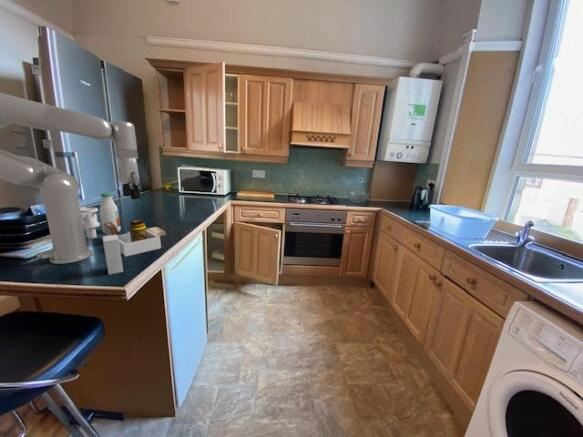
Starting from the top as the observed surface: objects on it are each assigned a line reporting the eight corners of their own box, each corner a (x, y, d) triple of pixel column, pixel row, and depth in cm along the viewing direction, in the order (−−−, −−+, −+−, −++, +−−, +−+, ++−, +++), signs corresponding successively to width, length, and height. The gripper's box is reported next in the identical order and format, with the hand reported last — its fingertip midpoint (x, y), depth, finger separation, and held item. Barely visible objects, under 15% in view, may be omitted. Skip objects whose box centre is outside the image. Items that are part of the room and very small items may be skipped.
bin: (125, 256, 99) (123, 244, 98) (114, 247, 109) (112, 236, 108) (161, 248, 109) (160, 237, 108) (148, 240, 119) (147, 230, 117)
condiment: (151, 248, 109) (148, 221, 106) (128, 252, 104) (124, 224, 101) (146, 243, 114) (143, 218, 112) (124, 247, 109) (120, 220, 106)
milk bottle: (114, 233, 127) (108, 194, 122) (99, 233, 127) (92, 194, 122) (124, 229, 134) (119, 192, 130) (109, 229, 135) (104, 191, 130)
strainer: (82, 236, 121) (77, 206, 118) (100, 234, 126) (96, 204, 122) (83, 240, 116) (78, 208, 113) (102, 237, 121) (98, 206, 117)
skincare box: (107, 268, 88) (102, 236, 85) (121, 266, 91) (117, 234, 88) (108, 275, 84) (102, 241, 81) (123, 272, 86) (118, 238, 83)
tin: (121, 244, 112) (118, 226, 110) (113, 246, 110) (110, 227, 108) (112, 237, 122) (110, 220, 120) (104, 238, 120) (102, 221, 118)
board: (134, 241, 117) (134, 237, 117) (127, 235, 124) (126, 232, 124) (165, 234, 127) (165, 231, 127) (156, 230, 134) (156, 226, 134)
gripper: (109, 154, 103) (115, 195, 107) (122, 154, 92) (128, 201, 96) (130, 154, 108) (134, 194, 112) (145, 155, 97) (149, 199, 101)
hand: (131, 197), depth 104 cm, fingers open, 9 cm apart
